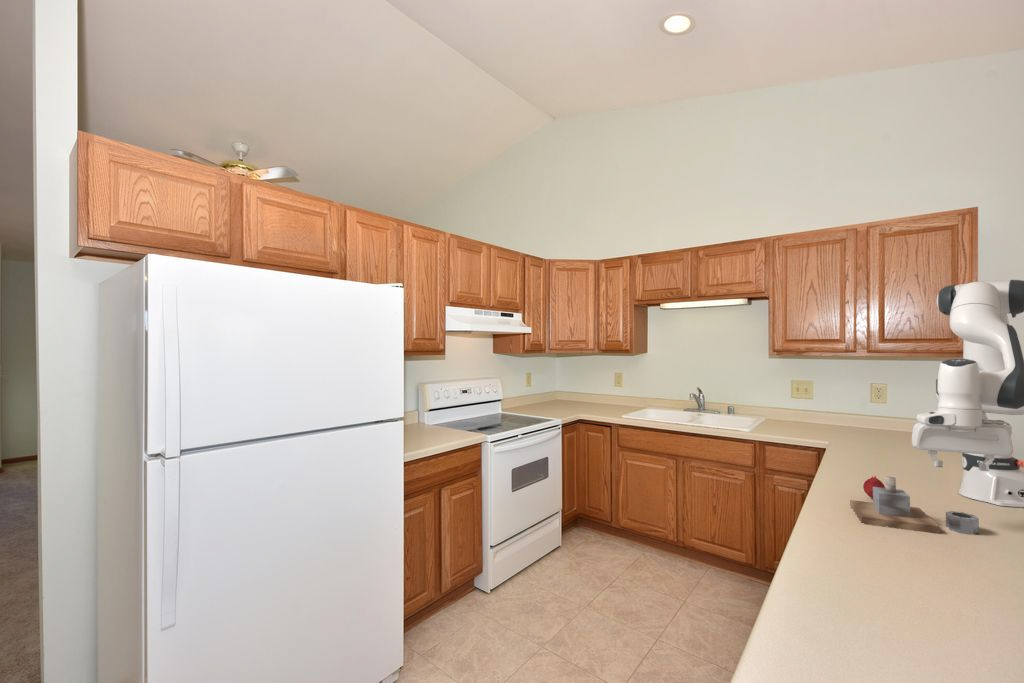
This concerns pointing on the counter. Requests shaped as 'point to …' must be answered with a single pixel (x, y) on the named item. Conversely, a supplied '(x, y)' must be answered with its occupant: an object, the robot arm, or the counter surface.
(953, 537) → the counter surface
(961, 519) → the collar
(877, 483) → the red rounded piece
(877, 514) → the post stand
